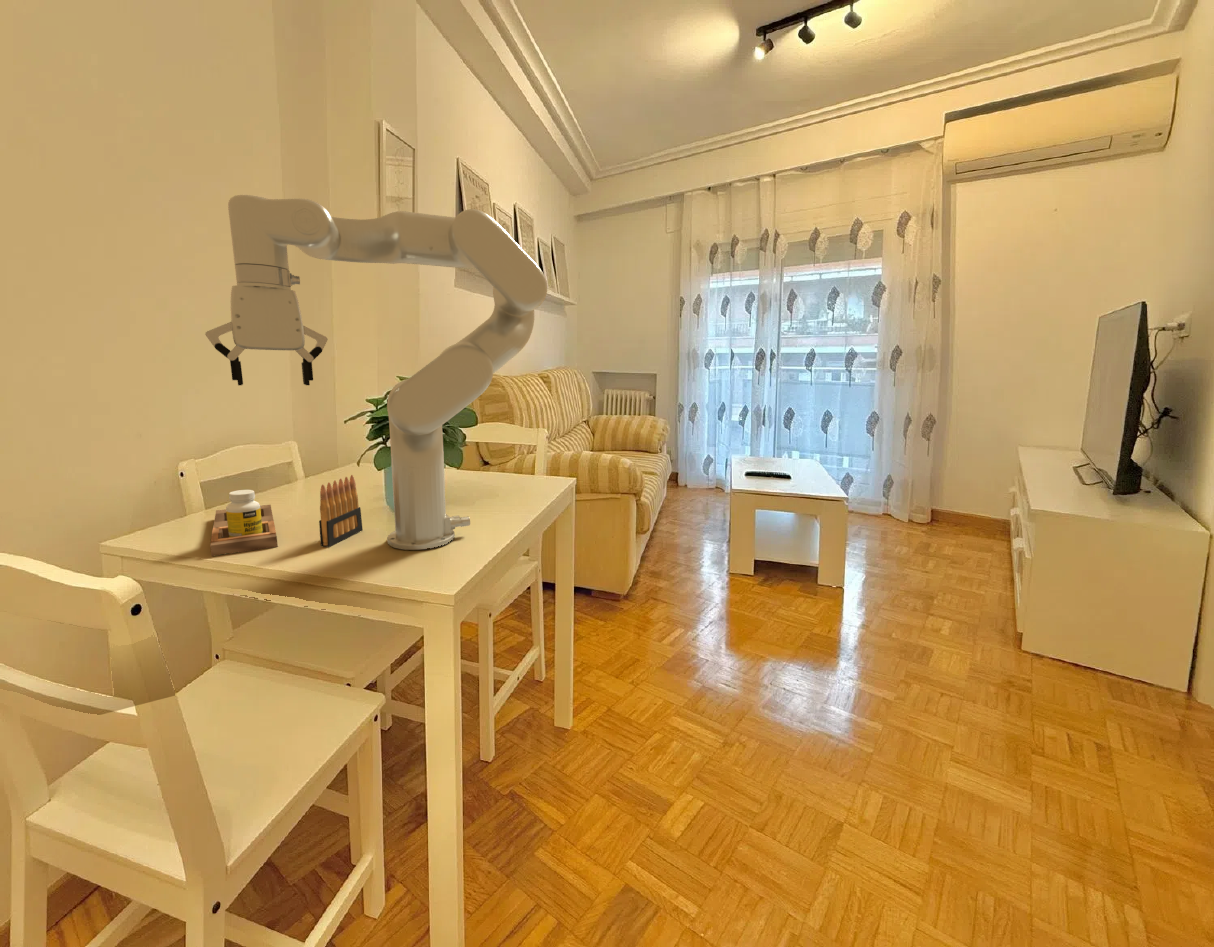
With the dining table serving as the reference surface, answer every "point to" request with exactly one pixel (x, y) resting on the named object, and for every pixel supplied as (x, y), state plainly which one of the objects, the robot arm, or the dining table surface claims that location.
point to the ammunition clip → (339, 512)
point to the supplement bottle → (243, 514)
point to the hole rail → (242, 543)
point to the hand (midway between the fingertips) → (274, 384)
